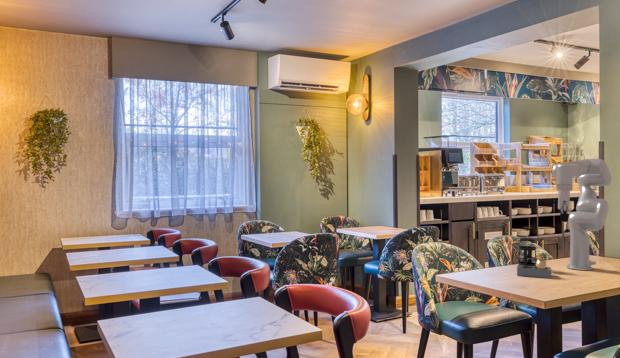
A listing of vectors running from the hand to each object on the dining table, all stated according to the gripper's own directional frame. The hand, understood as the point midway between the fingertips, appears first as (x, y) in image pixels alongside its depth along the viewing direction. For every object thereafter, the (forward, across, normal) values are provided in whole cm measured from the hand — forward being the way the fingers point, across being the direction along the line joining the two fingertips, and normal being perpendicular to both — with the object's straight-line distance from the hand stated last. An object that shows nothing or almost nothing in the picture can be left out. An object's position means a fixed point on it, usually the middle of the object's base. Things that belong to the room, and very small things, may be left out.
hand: (564, 220), depth 270 cm
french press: (+28, -12, -17) cm, 35 cm away
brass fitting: (+28, +8, -11) cm, 31 cm away
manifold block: (+28, +8, -14) cm, 33 cm away
